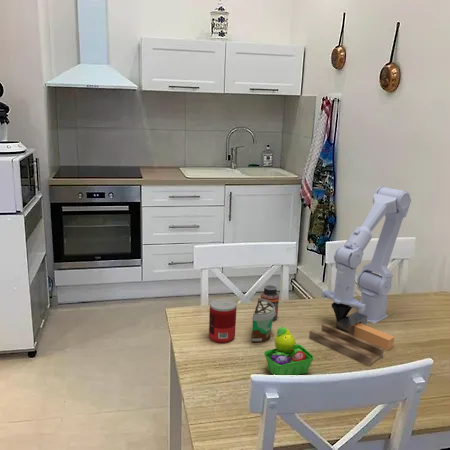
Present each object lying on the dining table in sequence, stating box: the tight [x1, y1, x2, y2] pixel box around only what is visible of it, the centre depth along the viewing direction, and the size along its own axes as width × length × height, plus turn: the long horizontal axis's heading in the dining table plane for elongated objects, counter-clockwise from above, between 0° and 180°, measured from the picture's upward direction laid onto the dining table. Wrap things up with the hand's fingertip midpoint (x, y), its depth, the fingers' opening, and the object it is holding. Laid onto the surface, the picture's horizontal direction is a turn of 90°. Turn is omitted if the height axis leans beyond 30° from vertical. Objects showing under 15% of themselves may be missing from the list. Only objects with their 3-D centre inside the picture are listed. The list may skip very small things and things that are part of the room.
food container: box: [251, 297, 276, 344], centre depth 140 cm, size 12×6×10 cm, turn 168°
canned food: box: [208, 298, 237, 344], centre depth 138 cm, size 8×8×11 cm
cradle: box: [308, 322, 384, 367], centre depth 136 cm, size 20×8×3 cm, turn 44°
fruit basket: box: [263, 326, 315, 376], centre depth 122 cm, size 11×9×11 cm
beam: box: [335, 311, 368, 335], centre depth 145 cm, size 11×4×5 cm, turn 134°
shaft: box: [353, 323, 395, 351], centre depth 141 cm, size 16×3×3 cm, turn 44°
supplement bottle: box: [260, 284, 280, 323], centre depth 151 cm, size 6×6×11 cm
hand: (340, 324), depth 148 cm, fingers closed
